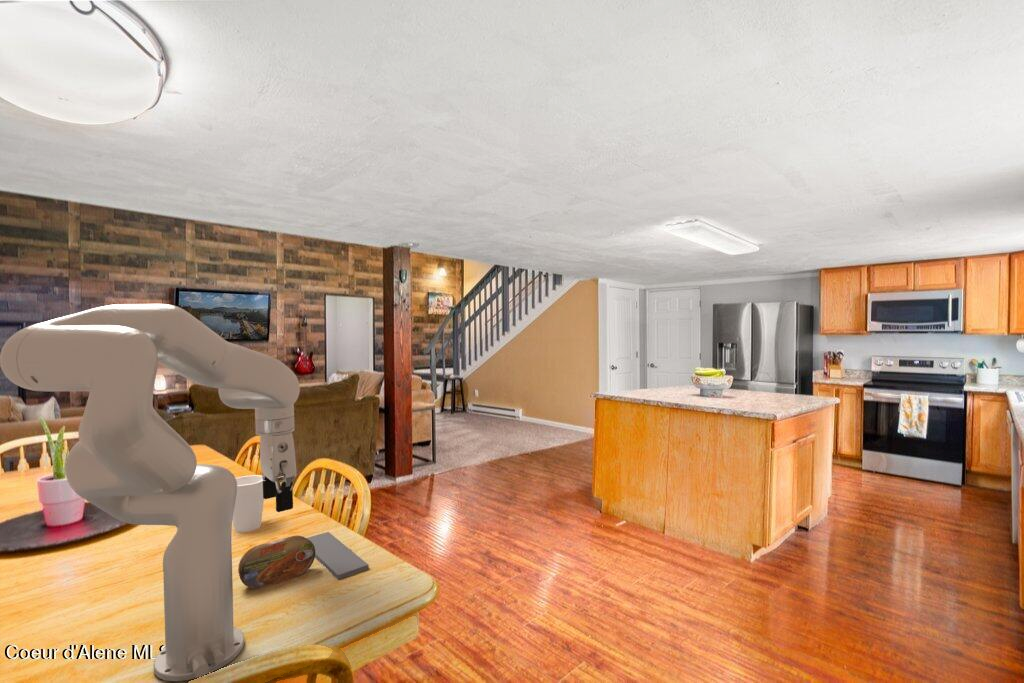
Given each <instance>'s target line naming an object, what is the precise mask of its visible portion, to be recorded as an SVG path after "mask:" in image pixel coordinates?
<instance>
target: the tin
mask: <svg viewBox="0 0 1024 683" xmlns="http://www.w3.org/2000/svg"><path fill="white" fill-rule="evenodd" d="M307 538H308V537H305V536H302V535H293V536H287V537H284V538H281V539H276V540H273V541H270V542H266V543H262V544H258V545H255V546H253V547H251V548H250V549H248V550H247V551H246V552H245V553H244V554H243V555H242V557H241V559H240V560H239V563H238V570H237V572H238V576H239V579H240V582H241V583H242V584H243V585H244V586H246V587H248V588H249V589H253V590H255V589H256V590H257V589H261V588H265V587H269V586H271V585H275V584H277V583H280V582H284V581H286V580H291V579H295V578H297V577H299V576H301V575H303V574H305V573H306V572H307V571H308V570H309V569H310V568H311V567H312V565H313V563H314V561H315V559H316V558H315V547H314V545H313V543H312V542H311V541H310V540H308V539H307ZM268 585H269V586H268Z"/></svg>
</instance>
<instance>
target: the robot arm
mask: <svg viewBox="0 0 1024 683" xmlns="http://www.w3.org/2000/svg"><path fill="white" fill-rule="evenodd" d="M159 365H161V366H163V367H164V368H167V369H169V370H171V371H172V372H174V373H175V374H178V375H180V376H181V377H183V378H185V379H186V380H188V381H190V382H192V383H194V384H196V385H199V386H203V387H210V388H215V389H218V396H219V399H220V401H221V402H222V403H223V404H224V405H225V406H227V407H229V408H233V409H239V410H240V409H241V410H247V409H249V410H254V416H255V417H254V418H255V419H254V420H255V421H254V422H255V435H256V436H260V437H259V457H260V458H259V459H260V460H259V461H260V462H259V463H260V470H261V473H262V475H261V476H262V478H263V498H264V500H268V499H272V498H275V510H276V512H277V513H280V512H284V511H289V510H293V508H294V496H293V495H294V494H293V493H294V492H293V490H294V486H293V483H294V482H293V479H295V478H296V477H297V462H296V450H295V440H294V436H293V432H294V431H295V430H296V428H295V406H294V404H295V403H296V402H297V400H298V398H299V396H300V392H301V390H300V389H301V386H300V382H299V379H298V377H297V375H296V374H295V373H294V371H293V370H292V369H291V368H290V367H289V366H287V365H286V364H285V363H283V362H282V360H279V359H277V358H276V357H273V356H272V355H269V354H265V353H263V352H260V351H257V350H253V349H250V348H248V347H245V346H244V345H243V346H242V345H239V344H236V343H233V342H229V341H227V340H226V339H224V338H223V337H221V335H219V334H218V333H216V332H215V331H214V330H212V329H211V328H210V327H209V326H207V325H206V324H204V322H202V321H200V320H199V319H198V318H197V317H195V316H193V314H191V313H190V312H188V311H186V310H185V309H184V308H181V307H180V306H177V305H174V304H173V305H172V304H167V303H117V304H108V305H104V306H103V305H102V306H98V307H94V308H90V309H86V310H83V311H79V312H75V313H72V314H69V315H64V316H61V317H57V318H53V319H50V320H47V321H42V322H38V323H34V324H31V325H29V326H25V327H24V328H22V329H20V330H17V332H15V333H13V334H12V335H11V336H10V337H9V338H8V339H7V340H6V341H5V343H4V344H3V346H2V348H1V351H0V369H1V371H2V373H3V374H4V376H5V377H6V378H7V379H8V380H9V381H10V382H11V383H12V384H14V385H16V386H18V387H20V388H22V389H24V390H25V389H26V390H29V391H34V392H89V393H88V398H87V401H86V404H85V409H84V412H83V415H82V417H81V420H80V423H79V426H78V430H77V432H78V433H77V435H78V440H79V441H77V442H76V443H75V444H74V445H73V446H72V448H71V449H70V451H68V455H67V456H66V460H65V465H64V467H65V468H64V469H65V470H64V472H65V477H66V480H67V482H68V484H69V486H70V489H71V490H72V491H73V492H74V493H75V494H76V495H78V496H79V497H80V498H82V499H84V500H85V501H87V502H88V503H90V504H91V505H93V506H94V507H96V508H98V509H100V510H101V511H103V512H105V513H106V514H108V515H109V516H111V517H112V518H114V519H116V520H118V521H121V522H123V523H125V524H128V525H129V524H130V525H136V526H138V525H139V526H171V527H175V528H176V532H175V535H174V536H173V538H172V539H171V540H170V542H169V543H168V545H167V546H166V548H165V551H164V553H163V556H162V557H163V558H162V571H163V599H164V600H163V606H164V607H163V608H164V609H163V610H164V639H165V641H164V644H165V645H164V646H165V647H164V648H162V649H161V651H160V652H158V654H157V655H156V657H155V658H154V660H153V661H154V662H153V673H154V674H155V676H156V677H157V678H158V679H160V680H163V681H168V682H182V681H183V682H184V681H189V680H193V679H194V678H195V679H199V678H198V677H200V676H203V675H205V674H207V673H209V672H212V671H214V672H216V671H218V670H219V668H220V669H221V668H223V667H224V666H226V665H227V664H230V663H231V662H232V661H233V660H234V659H235V658H236V657H237V656H238V655H239V654H240V653H241V651H242V650H243V648H244V646H245V636H244V635H245V634H244V632H243V631H242V630H241V629H240V628H238V627H235V626H234V598H233V597H234V595H233V594H234V593H233V589H234V588H233V556H232V555H233V552H232V545H233V544H232V535H233V534H232V531H233V529H232V528H233V520H232V519H233V512H234V507H235V501H236V496H237V481H236V478H237V477H235V475H234V473H232V471H231V470H229V469H227V468H225V467H223V466H220V465H214V464H207V463H206V464H205V463H202V464H201V463H200V464H198V461H197V457H196V453H195V451H194V450H193V448H192V446H190V444H189V443H188V442H187V441H186V440H185V439H184V438H183V437H182V436H181V435H180V434H179V433H178V432H177V431H176V430H175V429H174V428H173V427H171V425H169V424H168V422H166V420H164V419H163V418H162V416H160V415H159V413H158V412H157V410H155V408H154V404H153V400H154V398H153V397H154V389H155V383H156V378H157V373H158V369H159ZM264 480H266V481H264ZM281 482H282V483H281ZM217 669H218V670H217ZM215 670H216V671H215ZM212 673H213V672H212ZM209 674H210V673H209ZM207 675H208V674H207ZM205 676H206V675H205ZM203 677H204V676H203Z"/></svg>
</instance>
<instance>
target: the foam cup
mask: <svg viewBox="0 0 1024 683" xmlns="http://www.w3.org/2000/svg"><path fill="white" fill-rule="evenodd" d="M262 476H263V475H261V474H259V475H258V474H256V475H255V474H251V475H245V476H244V475H243V476H239V477H235V478H236V481H237V496H236V501H235V507H234V512H233V519H232V527H233V529H234V532H235V533H248V532H252V531H255V530H259V528H260V527H261V526H262V525H261V524H262V520H263V519H262V518H263V511H264V502H265V499H264V498H263V478H262ZM264 481H266V480H264Z"/></svg>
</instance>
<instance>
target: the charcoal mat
mask: <svg viewBox="0 0 1024 683" xmlns="http://www.w3.org/2000/svg"><path fill="white" fill-rule="evenodd" d="M306 538H307V539H308V540H310V541H311V542H312V543H313V545H314V547H315V559H316V560H317V561H318V562H319V563H320V564H321V565H322V564H323V565H322V566H323V567H324V566H325V567H326V568H327V569H328V570H329V571H328V570H327V569H326V568H325V567H324V568H325V569H326V570H327V571H328V572H329V573H330V572H331V573H332V574H331V573H330V574H331V575H332V576H333V577H334V578H335V579H336V580H341V579H345V578H347V577H349V576H352V575H356V574H358V573H362V572H364V571H367V570H369V568H370V567H369V563H367V562H366V561H365V560H364V559H362V558H361V557H360V556H359V555H357V553H356V552H354V551H353V550H351V548H348V546H347V545H345V543H343V542H342V541H340V540H339V539H338V538H337V537H335V535H333V534H332V533H331V532H329V531H326V532H322V533H319V534H316V535H311V536H307V537H306Z"/></svg>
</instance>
